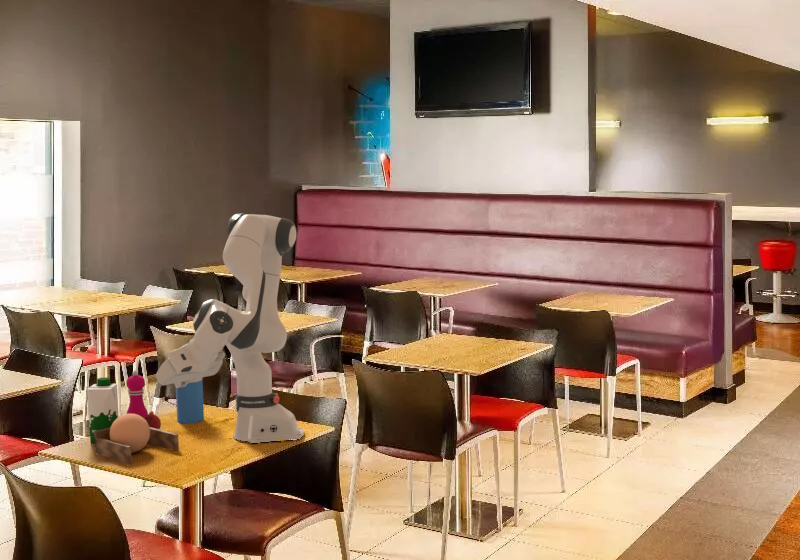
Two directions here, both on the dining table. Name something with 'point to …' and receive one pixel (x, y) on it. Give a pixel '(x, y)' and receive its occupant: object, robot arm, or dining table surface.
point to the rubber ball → (130, 431)
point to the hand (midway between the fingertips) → (179, 385)
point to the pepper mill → (136, 395)
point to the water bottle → (190, 402)
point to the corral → (124, 451)
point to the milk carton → (102, 405)
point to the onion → (153, 420)
